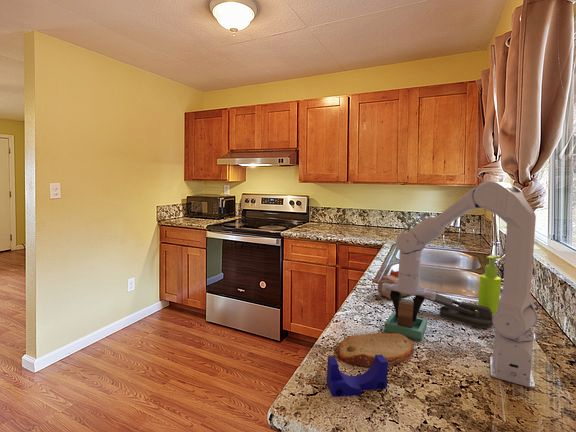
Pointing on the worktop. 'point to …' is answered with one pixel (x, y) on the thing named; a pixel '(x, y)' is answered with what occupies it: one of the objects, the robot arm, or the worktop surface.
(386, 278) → the food item
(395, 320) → the teal well
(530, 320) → the robot arm
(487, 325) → the dark grey stapler
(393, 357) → the bread slice
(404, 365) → the worktop surface
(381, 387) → the blue cradle
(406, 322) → the walnut post
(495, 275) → the soap dispenser
